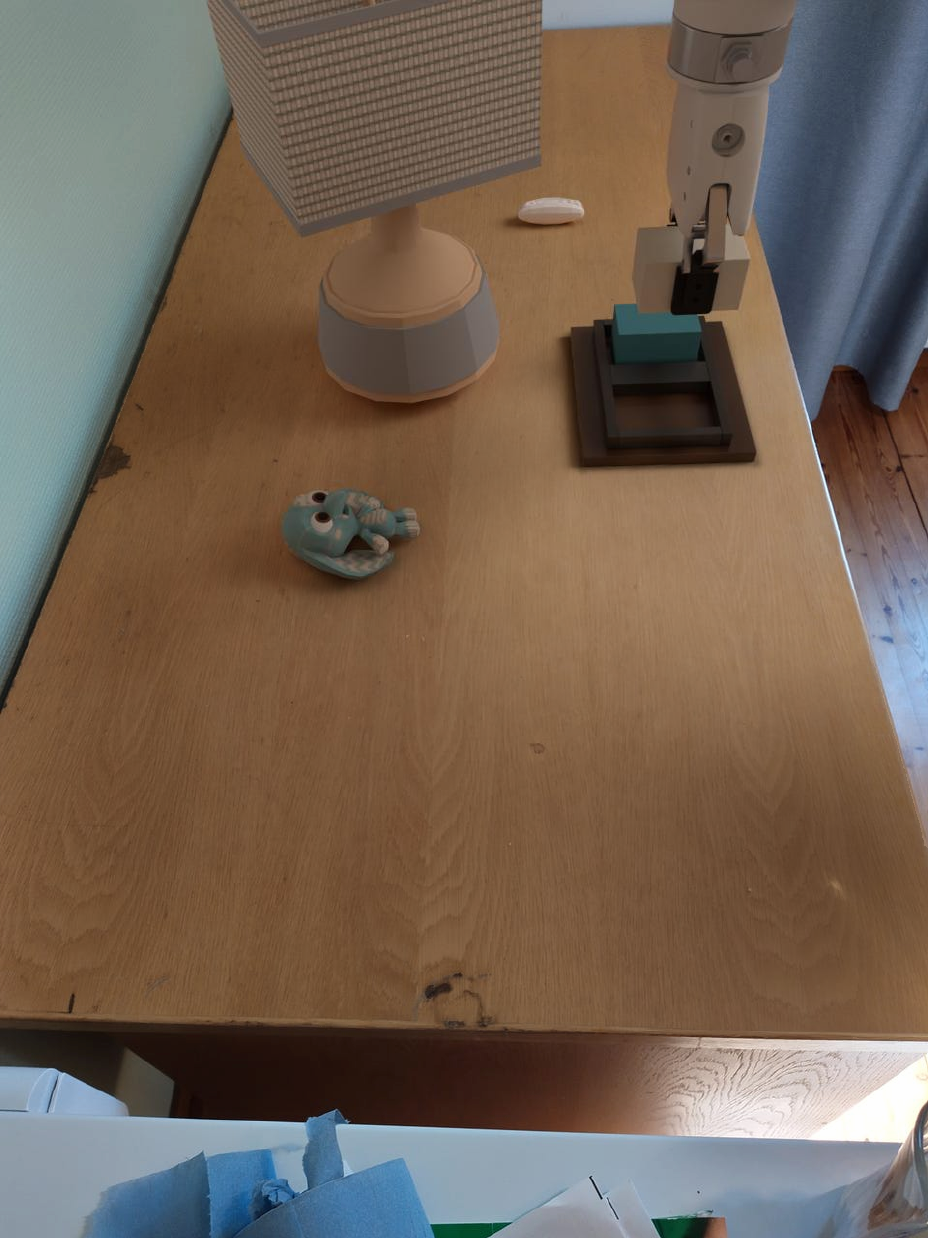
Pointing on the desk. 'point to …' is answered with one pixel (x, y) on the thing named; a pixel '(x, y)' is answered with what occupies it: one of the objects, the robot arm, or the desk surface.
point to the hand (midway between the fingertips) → (685, 288)
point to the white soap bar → (551, 211)
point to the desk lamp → (388, 163)
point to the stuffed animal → (344, 531)
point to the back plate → (658, 404)
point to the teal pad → (653, 336)
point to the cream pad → (663, 255)
